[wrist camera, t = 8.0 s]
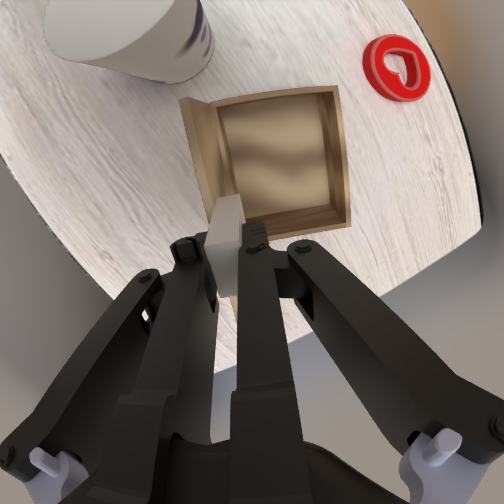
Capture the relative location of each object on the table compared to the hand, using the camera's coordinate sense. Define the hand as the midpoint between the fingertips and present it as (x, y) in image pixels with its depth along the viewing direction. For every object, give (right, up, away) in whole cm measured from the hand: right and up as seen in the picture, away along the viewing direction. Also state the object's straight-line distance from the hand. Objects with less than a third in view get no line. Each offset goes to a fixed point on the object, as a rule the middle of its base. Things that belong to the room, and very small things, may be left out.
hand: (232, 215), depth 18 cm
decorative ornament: (+20, +23, +10) cm, 32 cm away
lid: (-1, +2, +4) cm, 4 cm away
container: (-8, +23, +9) cm, 26 cm away
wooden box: (+5, +10, +16) cm, 19 cm away
